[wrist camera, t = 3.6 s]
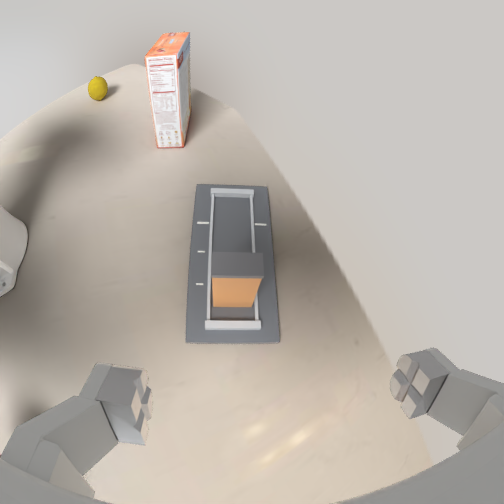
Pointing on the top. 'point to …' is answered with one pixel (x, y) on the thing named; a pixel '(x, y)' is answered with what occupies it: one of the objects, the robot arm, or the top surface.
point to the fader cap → (236, 278)
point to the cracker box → (170, 88)
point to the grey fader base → (230, 240)
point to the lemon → (97, 88)
